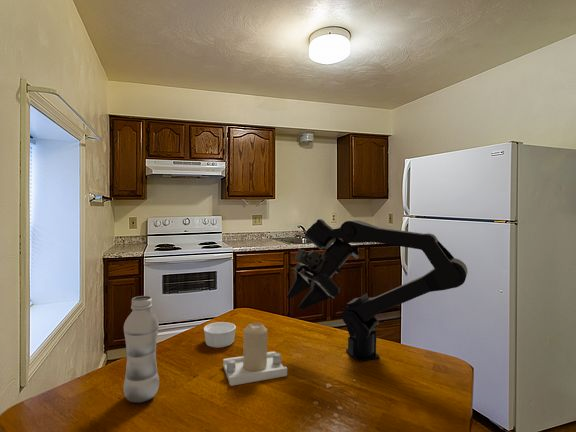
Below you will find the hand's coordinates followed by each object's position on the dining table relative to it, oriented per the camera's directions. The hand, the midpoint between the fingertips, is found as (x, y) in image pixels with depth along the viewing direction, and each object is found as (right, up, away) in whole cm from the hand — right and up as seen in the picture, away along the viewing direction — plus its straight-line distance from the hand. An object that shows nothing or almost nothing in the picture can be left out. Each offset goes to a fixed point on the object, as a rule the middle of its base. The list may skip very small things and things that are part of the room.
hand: (293, 303), depth 85 cm
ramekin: (-21, -13, +8) cm, 26 cm away
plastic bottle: (-31, -14, -20) cm, 39 cm away
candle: (-9, -13, -8) cm, 18 cm away
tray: (-9, -14, -8) cm, 19 cm away
